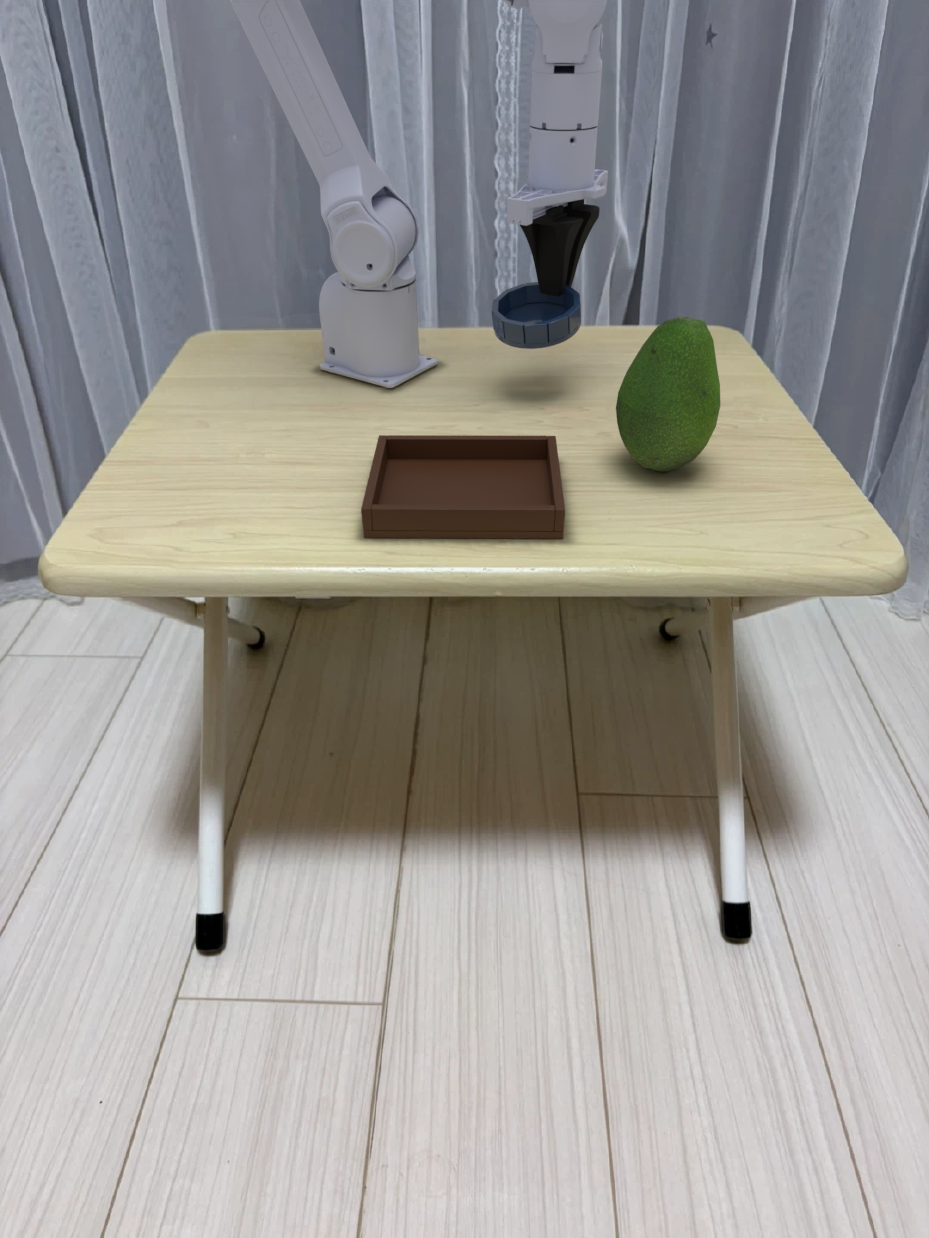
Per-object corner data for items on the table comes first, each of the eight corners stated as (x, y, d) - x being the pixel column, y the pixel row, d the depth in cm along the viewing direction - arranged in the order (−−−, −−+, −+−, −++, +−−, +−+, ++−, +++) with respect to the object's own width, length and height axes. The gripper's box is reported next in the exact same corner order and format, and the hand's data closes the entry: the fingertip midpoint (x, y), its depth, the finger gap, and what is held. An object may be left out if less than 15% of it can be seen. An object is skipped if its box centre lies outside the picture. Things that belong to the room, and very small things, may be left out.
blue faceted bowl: (478, 339, 80) (475, 316, 78) (522, 298, 84) (520, 276, 82) (553, 356, 76) (552, 332, 74) (596, 313, 80) (595, 289, 78)
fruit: (590, 467, 71) (603, 320, 63) (642, 434, 75) (659, 294, 68) (677, 498, 66) (701, 345, 59) (726, 462, 71) (754, 315, 64)
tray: (363, 537, 62) (360, 508, 61) (380, 461, 72) (378, 435, 70) (563, 538, 62) (565, 509, 61) (554, 462, 71) (555, 435, 70)
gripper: (563, 142, 66) (554, 321, 74) (644, 118, 75) (627, 279, 83) (486, 135, 69) (485, 307, 77) (572, 112, 78) (563, 268, 87)
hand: (554, 292), depth 81 cm, fingers closed on blue faceted bowl, 1 cm apart
